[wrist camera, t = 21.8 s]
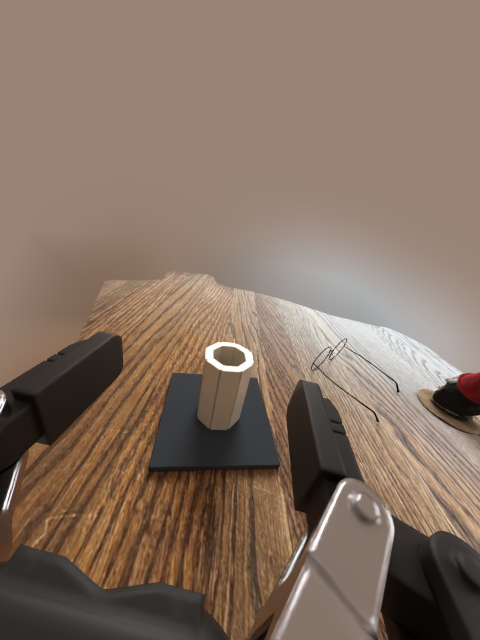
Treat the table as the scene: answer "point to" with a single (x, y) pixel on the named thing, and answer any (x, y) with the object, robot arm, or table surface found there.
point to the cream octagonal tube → (224, 384)
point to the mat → (211, 433)
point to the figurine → (456, 402)
